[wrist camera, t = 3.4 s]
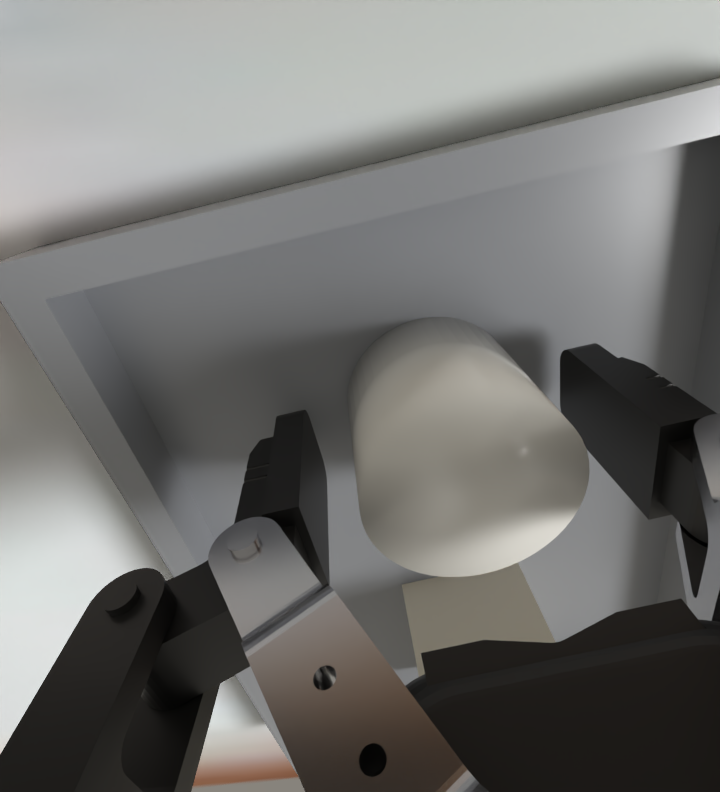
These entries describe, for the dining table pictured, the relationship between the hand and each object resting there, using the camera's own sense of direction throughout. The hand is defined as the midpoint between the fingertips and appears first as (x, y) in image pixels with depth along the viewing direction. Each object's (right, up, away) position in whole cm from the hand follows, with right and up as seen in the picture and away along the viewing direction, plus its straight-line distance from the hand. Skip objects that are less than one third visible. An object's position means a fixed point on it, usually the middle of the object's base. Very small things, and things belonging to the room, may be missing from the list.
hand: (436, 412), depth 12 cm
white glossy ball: (0, 0, +1) cm, 1 cm away
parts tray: (+1, -3, +3) cm, 5 cm away
